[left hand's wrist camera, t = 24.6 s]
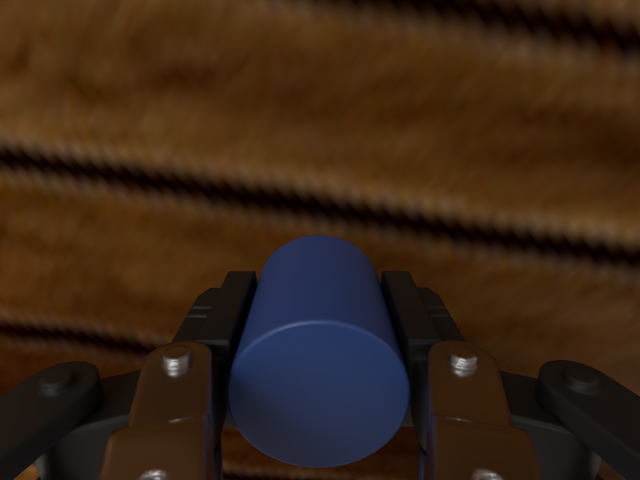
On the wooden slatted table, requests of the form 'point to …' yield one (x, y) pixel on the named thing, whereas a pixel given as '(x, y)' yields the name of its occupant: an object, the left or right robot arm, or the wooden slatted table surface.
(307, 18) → the wooden slatted table surface
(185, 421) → the left robot arm
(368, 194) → the wooden slatted table surface
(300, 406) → the canister
